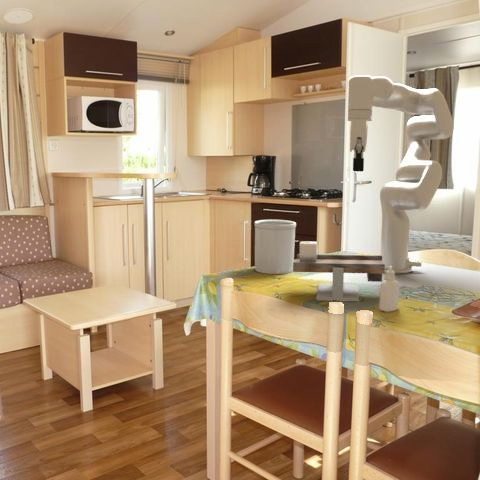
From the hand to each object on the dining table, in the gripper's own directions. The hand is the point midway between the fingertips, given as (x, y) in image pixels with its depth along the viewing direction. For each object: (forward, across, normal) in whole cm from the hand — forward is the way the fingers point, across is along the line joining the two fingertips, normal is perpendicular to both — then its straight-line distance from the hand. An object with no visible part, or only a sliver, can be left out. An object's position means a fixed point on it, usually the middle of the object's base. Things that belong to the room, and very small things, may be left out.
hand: (358, 170), depth 187 cm
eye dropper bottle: (+36, +33, +9) cm, 50 cm away
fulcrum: (+36, +18, -5) cm, 41 cm away
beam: (+31, +18, -5) cm, 36 cm away
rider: (+27, +18, -14) cm, 35 cm away
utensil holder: (+37, -12, -28) cm, 48 cm away
